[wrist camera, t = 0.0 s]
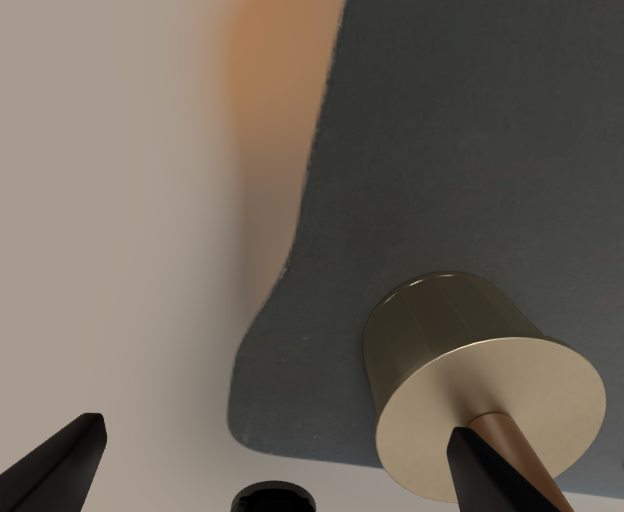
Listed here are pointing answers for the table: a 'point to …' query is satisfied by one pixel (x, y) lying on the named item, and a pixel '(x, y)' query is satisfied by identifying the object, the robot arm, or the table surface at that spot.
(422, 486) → the lid
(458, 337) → the pot
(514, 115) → the table surface
